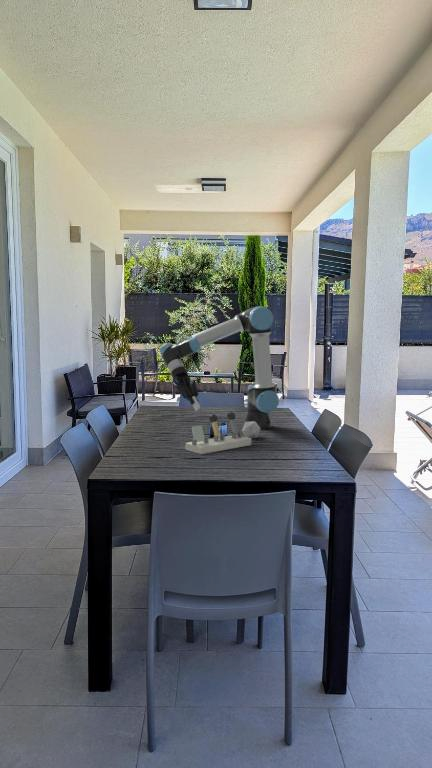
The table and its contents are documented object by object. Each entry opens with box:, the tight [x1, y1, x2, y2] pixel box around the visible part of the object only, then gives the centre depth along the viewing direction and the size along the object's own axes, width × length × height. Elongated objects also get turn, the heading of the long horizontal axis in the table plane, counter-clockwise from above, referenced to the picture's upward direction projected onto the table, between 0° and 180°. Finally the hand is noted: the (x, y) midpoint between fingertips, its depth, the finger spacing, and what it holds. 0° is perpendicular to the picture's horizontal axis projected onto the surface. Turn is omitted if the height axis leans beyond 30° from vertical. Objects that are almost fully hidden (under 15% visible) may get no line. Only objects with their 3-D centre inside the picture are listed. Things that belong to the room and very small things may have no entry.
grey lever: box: [226, 411, 239, 436], centre depth 259 cm, size 4×4×12 cm
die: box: [241, 422, 262, 439], centre depth 273 cm, size 8×9×10 cm
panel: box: [184, 431, 252, 455], centre depth 250 cm, size 11×30×5 cm, turn 130°
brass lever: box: [208, 413, 222, 439], centre depth 252 cm, size 4×4×12 cm
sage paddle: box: [190, 425, 205, 442], centre depth 244 cm, size 1×5×7 cm, turn 131°
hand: (198, 408), depth 259 cm, fingers closed
